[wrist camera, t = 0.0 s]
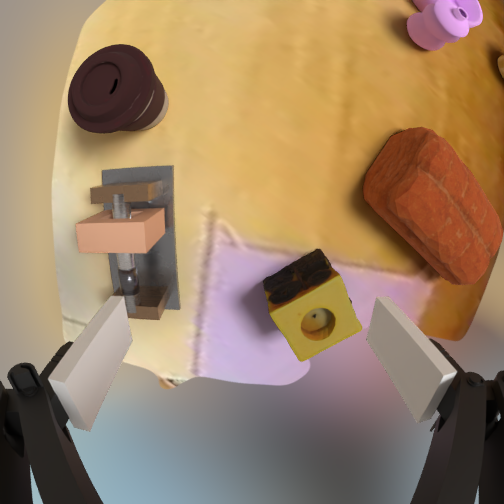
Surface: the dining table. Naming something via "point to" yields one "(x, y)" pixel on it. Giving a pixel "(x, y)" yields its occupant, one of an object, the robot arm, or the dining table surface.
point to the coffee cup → (117, 92)
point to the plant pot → (501, 65)
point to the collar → (121, 231)
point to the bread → (434, 204)
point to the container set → (442, 21)
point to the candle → (310, 305)
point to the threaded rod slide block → (163, 251)
